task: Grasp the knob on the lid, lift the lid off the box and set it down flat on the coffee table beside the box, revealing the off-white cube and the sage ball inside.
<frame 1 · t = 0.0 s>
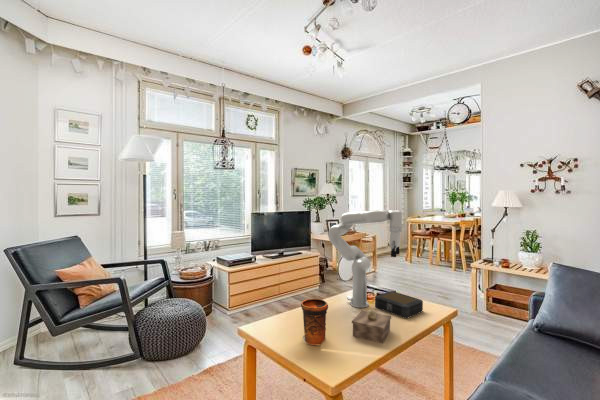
hand: (395, 255, 199), 37 cm above the table, tool pointing down, fingers open, 9 cm apart
storage box: (371, 335, 167), on the table
cash box: (398, 309, 204), on the table
cube: (362, 333, 167), point 1 cm above the table, touching storage box
ball: (380, 329, 169), point 3 cm above the table, touching storage box
lid: (371, 320, 167), point 8 cm above the table, touching storage box
vessel: (314, 340, 162), on the table
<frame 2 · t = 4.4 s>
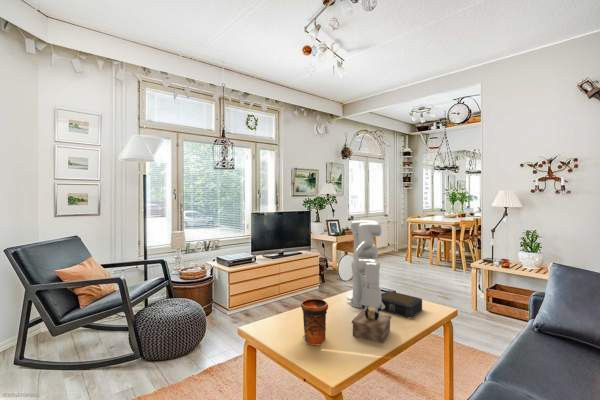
hand: (371, 317, 167), 10 cm above the table, tool pointing down, fingers closed on lid, 4 cm apart
lid: (371, 320, 167), point 8 cm above the table, touching gripper, storage box
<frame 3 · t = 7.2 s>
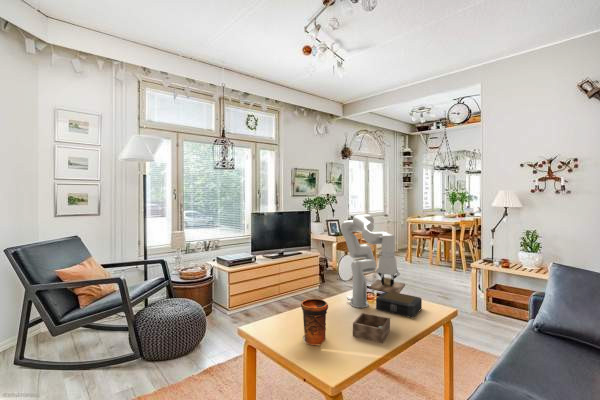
hand: (387, 284, 182), 23 cm above the table, tool pointing down, fingers closed on lid, 4 cm apart
lid: (387, 287, 183), point 21 cm above the table, touching gripper
when the fingers open (3 cm above the table, at t = 10.3 s): lid drops 2 cm, on the table.
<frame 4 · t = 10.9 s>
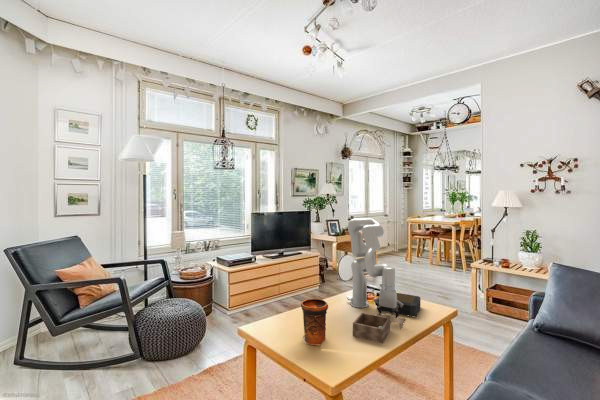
hand: (388, 315, 184), 4 cm above the table, tool pointing down, fingers open, 9 cm apart
lid: (387, 323, 184), on the table
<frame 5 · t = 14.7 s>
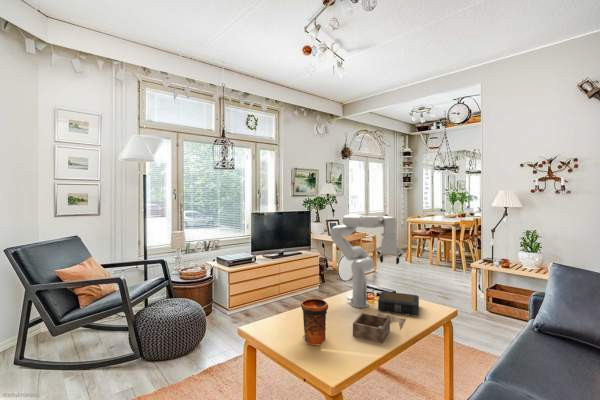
hand: (389, 263, 193), 33 cm above the table, tool pointing down, fingers open, 9 cm apart
at the end: lid inside the target area (0.1 cm from its centre), on the table; lid tilted 0°; the gripper is holding nothing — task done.
